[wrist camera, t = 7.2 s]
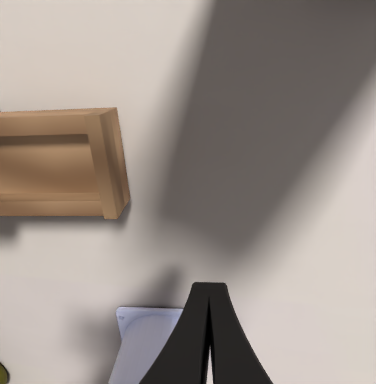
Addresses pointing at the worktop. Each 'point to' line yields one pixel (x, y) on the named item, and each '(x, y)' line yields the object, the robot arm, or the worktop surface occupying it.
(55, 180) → the wooden tray
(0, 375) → the spaceship
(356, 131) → the worktop surface
